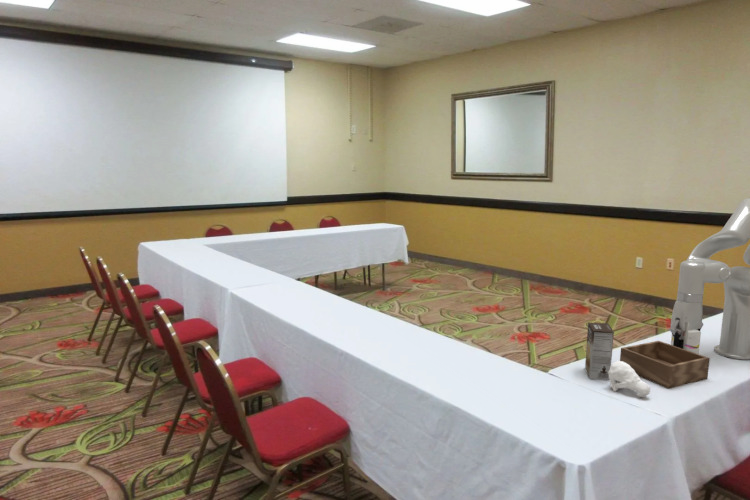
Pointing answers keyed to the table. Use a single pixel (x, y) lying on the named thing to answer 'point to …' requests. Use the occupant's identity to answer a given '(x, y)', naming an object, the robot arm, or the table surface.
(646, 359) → the walnut box
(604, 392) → the table surface
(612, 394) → the table surface
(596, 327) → the coffee box
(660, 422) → the table surface
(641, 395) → the white figurine
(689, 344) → the ink cartridge box
